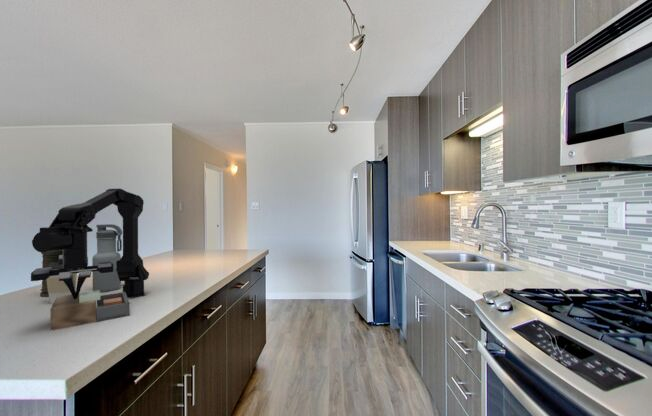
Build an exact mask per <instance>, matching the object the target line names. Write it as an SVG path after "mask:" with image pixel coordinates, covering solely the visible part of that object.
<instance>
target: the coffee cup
mask: <svg viewBox="0 0 652 416" xmlns="http://www.w3.org/2000/svg"><path fill="white" fill-rule="evenodd" d="M47 267H52V270H54V269H63V266H59V265H58V262H54V263H50V264H49V266H47ZM47 267H46V268H47ZM70 270H71V269H70ZM72 275H73V279H74V285H75V289H76V287H77V278H78V273H75V274H72ZM46 280H47V288H48V293H49V297H48V300H49V304H50V305H53V303H54V301H55V299H56V297H58V296H65V295H71V292H70V290H69V288H68V287H67V285H66V284H65V283H64V281H59V275H56V276H50V277H49V278H47V279H46Z"/></svg>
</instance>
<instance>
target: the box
mask: <svg viewBox="0 0 652 416" xmlns="http://www.w3.org/2000/svg"><path fill="white" fill-rule="evenodd" d="M119 297H121V299H122V304H117V305H111V306H105V307H104V300H107V299H113V298H119ZM130 314H131V313H130V301H129V298H127V295H126V292H123V291H121V292H116V293H109V294H102V295H101V294H100V300H96V323H98V322H104V321H109V320H113V319H114V320H115V319H118V318H119V319H120V318H124V317H128V316H130Z"/></svg>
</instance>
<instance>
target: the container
mask: <svg viewBox="0 0 652 416" xmlns="http://www.w3.org/2000/svg"><path fill="white" fill-rule="evenodd" d="M40 254H41V257H42V261H41V265H42V266H41V268H46V267H47V266H49V264H50V263H54V262H58V258H59V255H63V250H56V251H50V252H40ZM40 291H41V292H40V294H39V295H40V297H43V298H49V293H48V288H47V280H41V289H40Z"/></svg>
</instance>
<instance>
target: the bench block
mask: <svg viewBox="0 0 652 416" xmlns="http://www.w3.org/2000/svg"><path fill="white" fill-rule="evenodd" d="M49 310H50V331H51V330H52V331H56V330H61V329H66V328H71V327H77V326H80V325H85V324H90V323H97V300H95V301H89V302H83V303H79V295H78V298H77V299H74V298H73V296H72V294H71V295H65V296H58V297H56V299H55V301H54V303H53V304H51V308H50V309H49Z"/></svg>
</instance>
